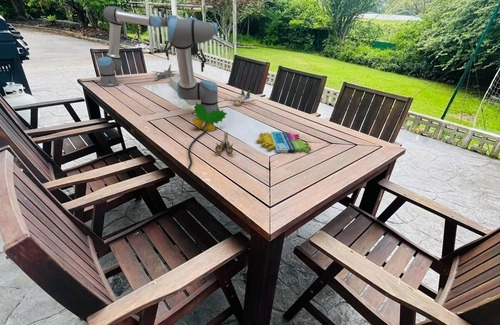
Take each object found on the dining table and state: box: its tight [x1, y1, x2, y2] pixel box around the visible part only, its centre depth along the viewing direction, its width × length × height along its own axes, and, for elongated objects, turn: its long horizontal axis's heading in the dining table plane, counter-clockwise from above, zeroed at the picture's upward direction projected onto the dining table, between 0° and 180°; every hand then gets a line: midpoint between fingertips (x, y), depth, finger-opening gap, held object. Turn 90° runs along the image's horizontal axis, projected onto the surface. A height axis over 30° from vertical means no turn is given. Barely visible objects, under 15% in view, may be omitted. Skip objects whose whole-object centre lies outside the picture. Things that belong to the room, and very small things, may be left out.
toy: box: [223, 89, 257, 106], centre depth 219 cm, size 28×7×30 cm
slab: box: [169, 76, 201, 106], centre depth 232 cm, size 72×10×7 cm, turn 27°
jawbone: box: [214, 131, 234, 156], centre depth 136 cm, size 9×15×10 cm
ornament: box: [191, 102, 228, 132], centre depth 162 cm, size 21×8×15 cm, turn 105°
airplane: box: [151, 64, 177, 81], centre depth 281 cm, size 38×31×10 cm
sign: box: [256, 131, 312, 154], centre depth 152 cm, size 26×2×30 cm
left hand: (175, 60), depth 244 cm, fingers open, 13 cm apart
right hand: (193, 71), depth 200 cm, fingers open, 13 cm apart
